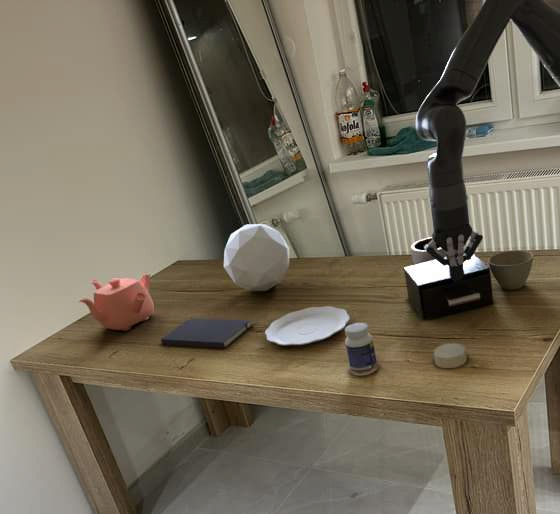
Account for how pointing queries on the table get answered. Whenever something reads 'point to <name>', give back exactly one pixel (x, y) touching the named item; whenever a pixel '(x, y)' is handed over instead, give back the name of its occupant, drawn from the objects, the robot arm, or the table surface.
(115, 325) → the teapot
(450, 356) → the grey round puck
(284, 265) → the ball
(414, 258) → the planter
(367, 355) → the pill bottle
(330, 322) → the plate
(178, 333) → the notebook
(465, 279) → the drawer
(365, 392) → the table surface
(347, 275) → the table surface
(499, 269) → the flower pot
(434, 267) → the cabinet
